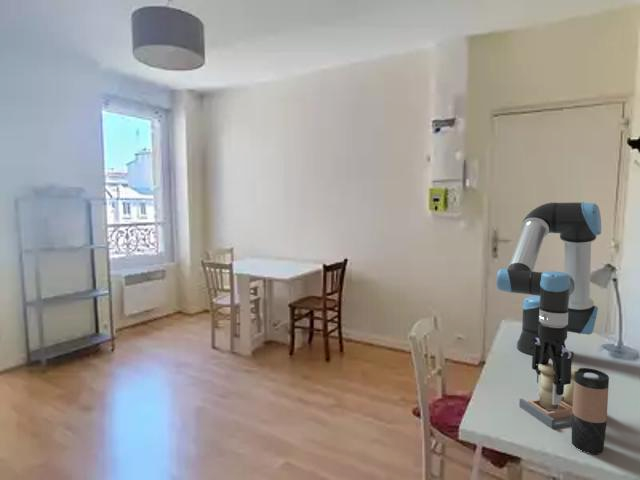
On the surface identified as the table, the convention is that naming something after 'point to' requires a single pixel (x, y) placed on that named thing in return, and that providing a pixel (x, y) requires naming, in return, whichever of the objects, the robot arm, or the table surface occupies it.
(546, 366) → the cream pawn-shaped knob
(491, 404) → the table surface
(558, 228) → the robot arm
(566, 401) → the housing
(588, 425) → the travel mug
